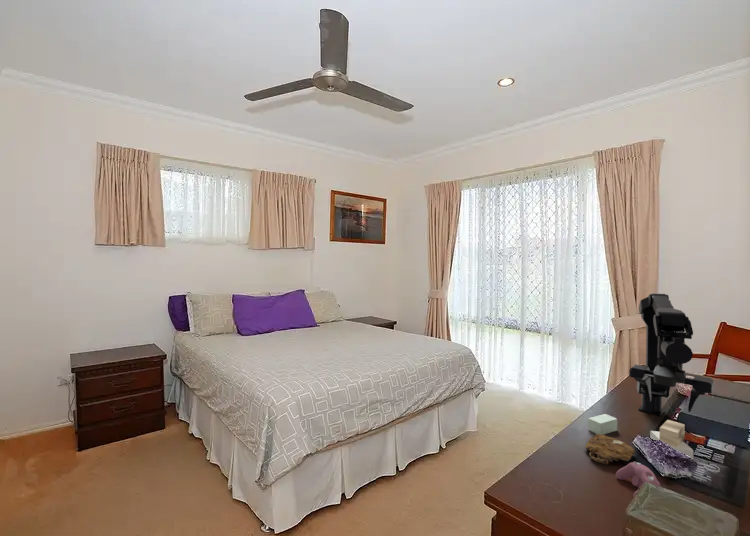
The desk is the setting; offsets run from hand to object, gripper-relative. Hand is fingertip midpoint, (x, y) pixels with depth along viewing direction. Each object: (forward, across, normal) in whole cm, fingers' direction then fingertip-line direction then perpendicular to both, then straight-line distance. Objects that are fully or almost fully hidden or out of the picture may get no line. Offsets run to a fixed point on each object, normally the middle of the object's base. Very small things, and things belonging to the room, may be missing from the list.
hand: (668, 406), depth 106 cm
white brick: (+12, +1, -2) cm, 12 cm away
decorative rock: (+12, -10, -19) cm, 25 cm away
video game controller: (+12, 0, -31) cm, 33 cm away
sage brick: (+12, -16, -4) cm, 20 cm away
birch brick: (+9, +1, -2) cm, 9 cm away
